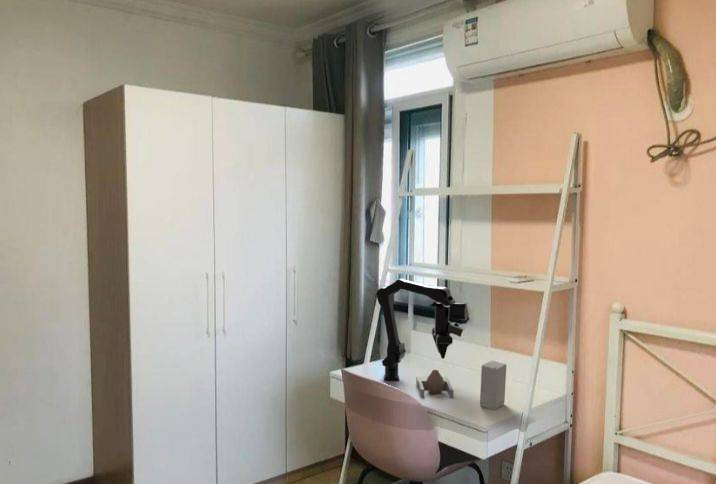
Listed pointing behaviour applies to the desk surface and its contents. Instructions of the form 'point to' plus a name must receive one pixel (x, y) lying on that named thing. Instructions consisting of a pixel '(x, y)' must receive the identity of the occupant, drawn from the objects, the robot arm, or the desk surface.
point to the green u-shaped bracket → (422, 384)
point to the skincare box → (493, 385)
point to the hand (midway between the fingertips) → (441, 355)
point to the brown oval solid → (435, 382)
